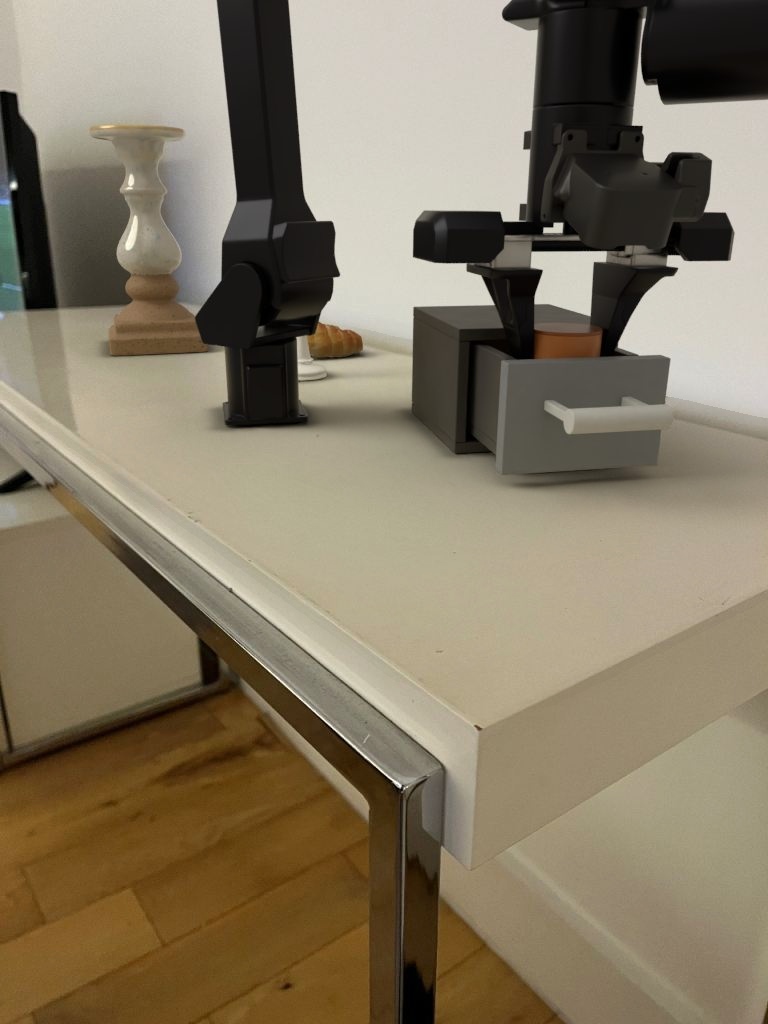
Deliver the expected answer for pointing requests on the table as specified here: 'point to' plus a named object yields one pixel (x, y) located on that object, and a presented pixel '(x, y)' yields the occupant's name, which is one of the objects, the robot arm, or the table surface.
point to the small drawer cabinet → (458, 363)
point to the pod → (566, 340)
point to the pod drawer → (567, 409)
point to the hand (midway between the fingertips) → (560, 377)
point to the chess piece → (307, 362)
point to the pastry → (334, 342)
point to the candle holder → (148, 250)
